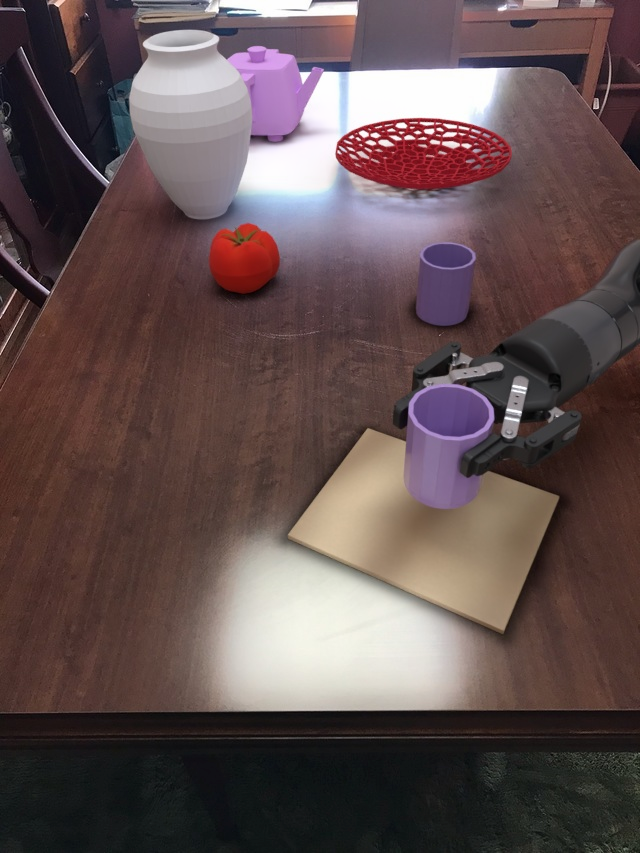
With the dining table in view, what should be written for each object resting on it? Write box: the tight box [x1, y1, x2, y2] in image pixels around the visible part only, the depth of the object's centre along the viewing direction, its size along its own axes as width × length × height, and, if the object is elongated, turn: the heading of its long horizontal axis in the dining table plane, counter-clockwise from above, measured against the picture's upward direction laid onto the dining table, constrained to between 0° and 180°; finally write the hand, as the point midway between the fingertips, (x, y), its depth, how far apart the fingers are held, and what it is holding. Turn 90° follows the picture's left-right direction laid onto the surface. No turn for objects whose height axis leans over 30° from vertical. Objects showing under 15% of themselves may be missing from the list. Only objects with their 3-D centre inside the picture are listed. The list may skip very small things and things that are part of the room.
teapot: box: [226, 45, 325, 143], centre depth 132 cm, size 19×18×15 cm
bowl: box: [334, 117, 513, 190], centre depth 117 cm, size 29×30×5 cm
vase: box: [128, 29, 252, 220], centre depth 103 cm, size 18×18×25 cm
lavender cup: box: [403, 384, 495, 509], centre depth 56 cm, size 7×7×8 cm
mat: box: [287, 427, 560, 635], centre depth 63 cm, size 20×16×1 cm
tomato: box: [208, 222, 281, 295], centre depth 92 cm, size 9×9×8 cm
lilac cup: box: [415, 241, 477, 327], centre depth 86 cm, size 7×7×8 cm
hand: (429, 442), depth 54 cm, fingers closed on lavender cup, 6 cm apart
